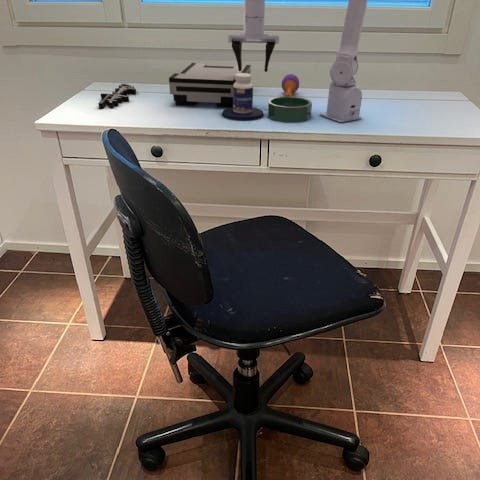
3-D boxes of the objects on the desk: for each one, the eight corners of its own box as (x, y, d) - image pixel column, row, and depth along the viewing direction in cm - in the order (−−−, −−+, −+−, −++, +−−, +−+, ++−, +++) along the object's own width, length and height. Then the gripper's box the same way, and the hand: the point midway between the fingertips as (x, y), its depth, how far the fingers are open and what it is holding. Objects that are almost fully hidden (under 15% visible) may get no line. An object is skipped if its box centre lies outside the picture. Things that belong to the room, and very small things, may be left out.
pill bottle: (235, 114, 140) (235, 76, 134) (230, 109, 144) (230, 72, 138) (254, 113, 141) (255, 75, 135) (249, 108, 146) (250, 71, 140)
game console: (250, 86, 173) (250, 61, 168) (237, 110, 148) (237, 80, 143) (193, 84, 175) (192, 59, 170) (171, 107, 150) (168, 77, 145)
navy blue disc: (272, 117, 142) (272, 113, 141) (235, 123, 137) (235, 119, 136) (249, 107, 150) (249, 104, 150) (214, 112, 145) (214, 109, 145)
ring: (318, 118, 141) (320, 103, 139) (283, 124, 136) (284, 109, 133) (293, 108, 149) (294, 94, 147) (259, 114, 144) (260, 99, 142)
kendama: (276, 92, 150) (281, 73, 164) (279, 111, 153) (283, 91, 168) (295, 89, 148) (298, 70, 163) (297, 109, 152) (300, 89, 167)
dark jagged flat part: (111, 83, 168) (139, 83, 168) (111, 88, 169) (140, 88, 169) (90, 103, 146) (123, 103, 146) (91, 108, 147) (124, 109, 147)
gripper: (280, 15, 138) (278, 68, 146) (230, 14, 139) (230, 67, 147) (279, 18, 132) (276, 73, 140) (226, 17, 133) (227, 72, 142)
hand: (253, 70), depth 143 cm, fingers open, 7 cm apart
